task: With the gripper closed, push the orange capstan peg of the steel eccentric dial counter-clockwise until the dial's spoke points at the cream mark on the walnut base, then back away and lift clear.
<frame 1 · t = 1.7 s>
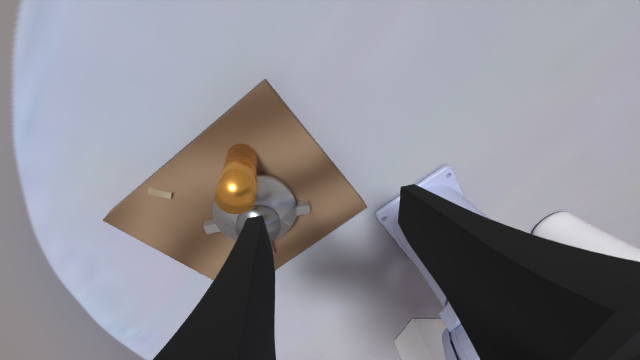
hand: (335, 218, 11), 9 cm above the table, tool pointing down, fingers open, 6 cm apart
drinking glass: (547, 225, 31), on the table
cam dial: (255, 225, 17), point 4 cm above the table, hinge at -30.0°
milk: (417, 328, 38), on the table
walnut base: (250, 204, 20), on the table
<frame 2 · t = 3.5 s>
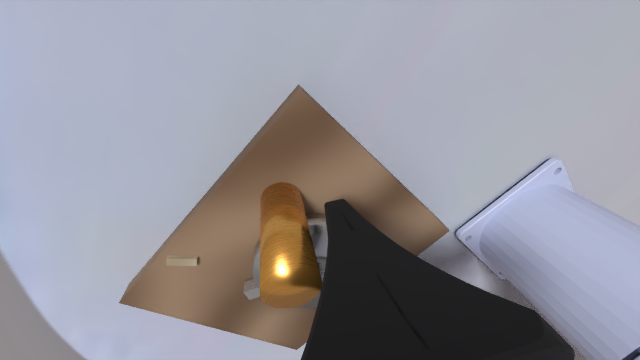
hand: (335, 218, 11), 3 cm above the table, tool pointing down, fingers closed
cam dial: (313, 290, 12), point 4 cm above the table, hinge at -29.9°, touching gripper
walnut base: (296, 248, 16), on the table
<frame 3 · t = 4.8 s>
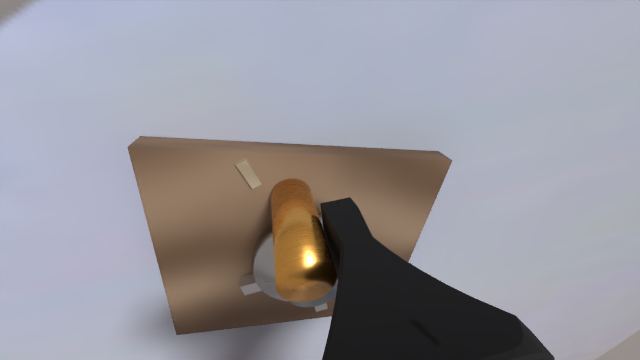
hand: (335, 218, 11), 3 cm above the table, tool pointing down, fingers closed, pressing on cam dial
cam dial: (314, 288, 12), point 4 cm above the table, hinge at 17.1°, touching gripper
walnut base: (299, 241, 16), on the table
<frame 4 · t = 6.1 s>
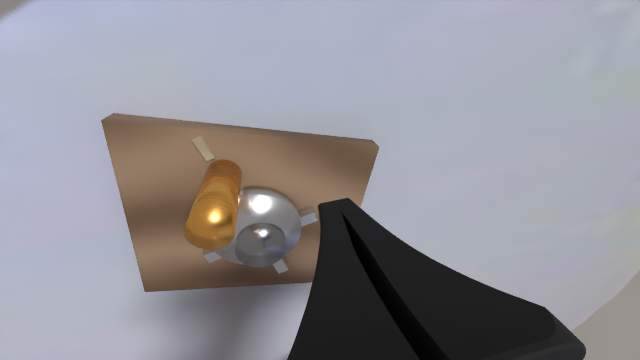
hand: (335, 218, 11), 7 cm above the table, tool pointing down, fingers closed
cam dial: (254, 248, 15), point 4 cm above the table, hinge at 28.5°
walnut base: (254, 213, 18), on the table
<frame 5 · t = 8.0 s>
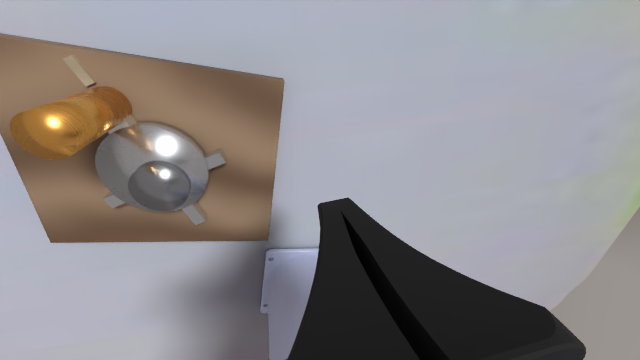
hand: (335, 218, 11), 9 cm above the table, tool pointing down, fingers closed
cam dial: (142, 183, 14), point 4 cm above the table, hinge at 29.0°
walnut base: (165, 159, 17), on the table
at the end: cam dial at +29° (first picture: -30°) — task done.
